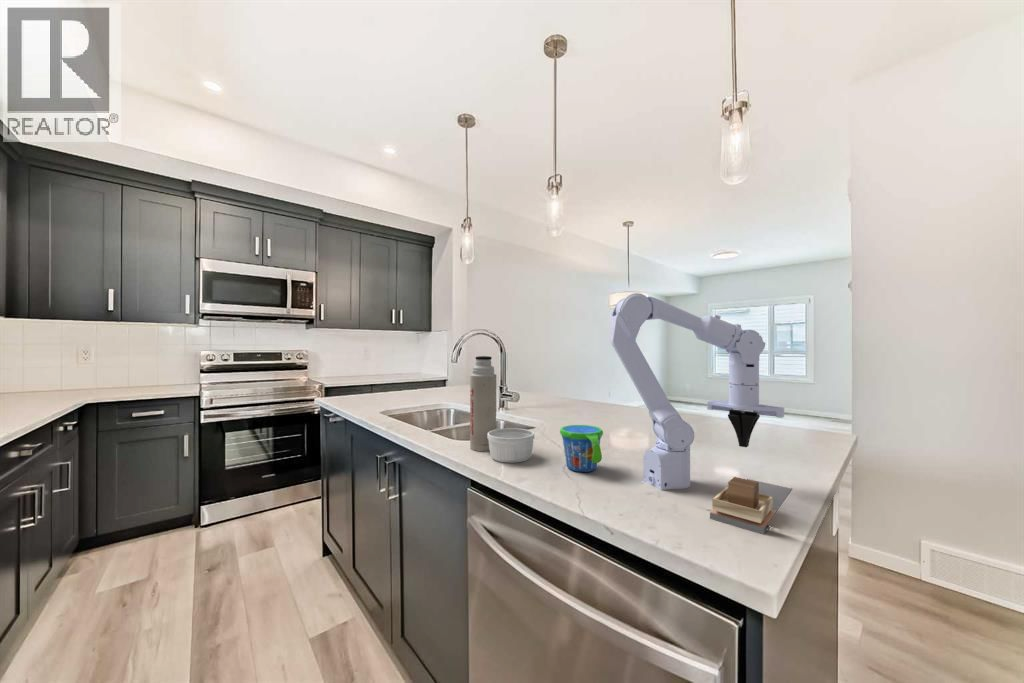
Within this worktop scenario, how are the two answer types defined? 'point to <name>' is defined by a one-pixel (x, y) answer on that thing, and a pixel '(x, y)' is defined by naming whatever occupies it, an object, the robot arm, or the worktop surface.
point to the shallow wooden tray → (743, 507)
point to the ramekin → (510, 444)
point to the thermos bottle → (482, 403)
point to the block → (743, 492)
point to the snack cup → (582, 447)
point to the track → (778, 498)
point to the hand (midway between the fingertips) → (743, 446)
